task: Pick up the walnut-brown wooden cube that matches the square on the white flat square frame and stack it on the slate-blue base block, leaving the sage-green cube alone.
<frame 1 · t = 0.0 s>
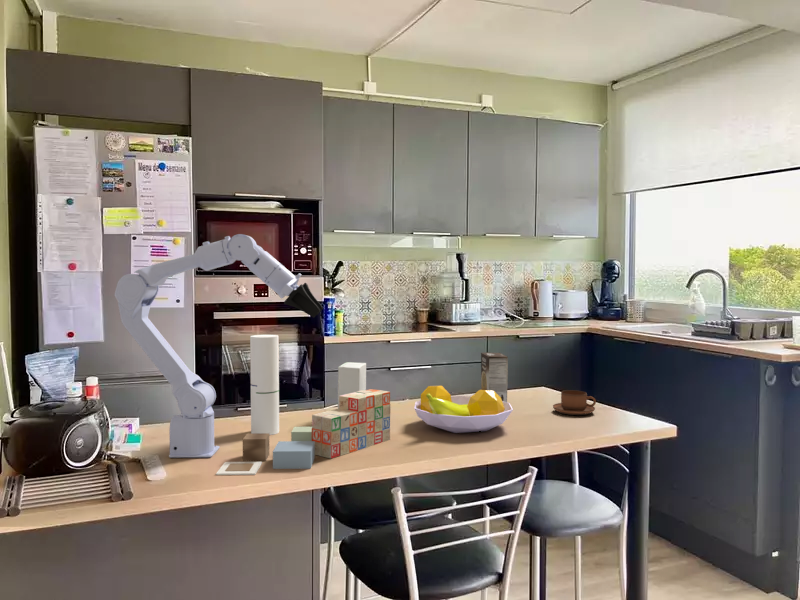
hand: (318, 312, 148), 32 cm above the countertop, tool tilted 50°, fingers open, 7 cm apart
white flat square frame: (239, 468, 138), on the countertop
skincare box: (352, 420, 183), on the countertop
stack of blocks: (352, 447, 155), on the countertop
base block: (294, 464, 142), on the countertop
cylindrical container: (265, 432, 168), on the countertop
sage cube: (303, 450, 152), on the countertop
coffee box: (493, 406, 202), on the countertop
walnut cube: (256, 458, 146), on the countertop
cup and saucer: (573, 413, 192), on the countertop
fruit bowl: (459, 428, 174), on the countertop
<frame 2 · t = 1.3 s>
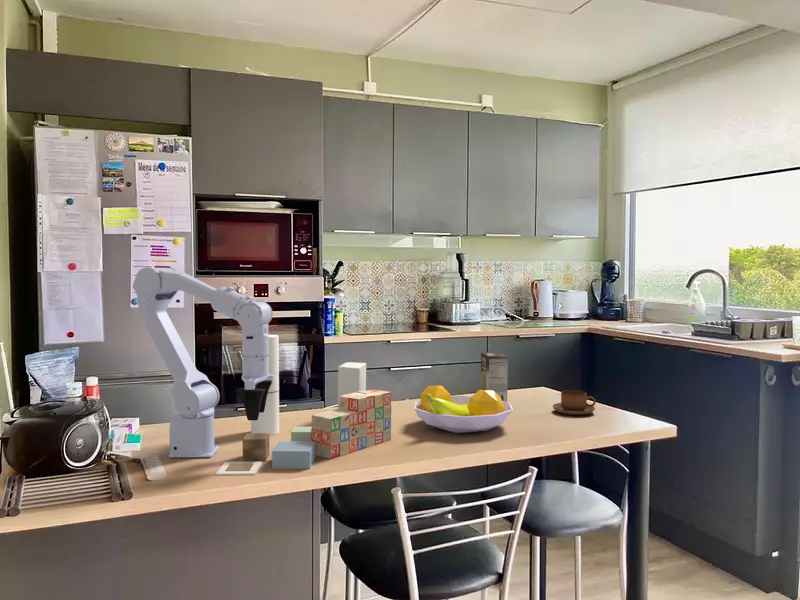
hand: (256, 416, 145), 9 cm above the countertop, tool pointing down, fingers open, 7 cm apart
nothing on the countertop moved.
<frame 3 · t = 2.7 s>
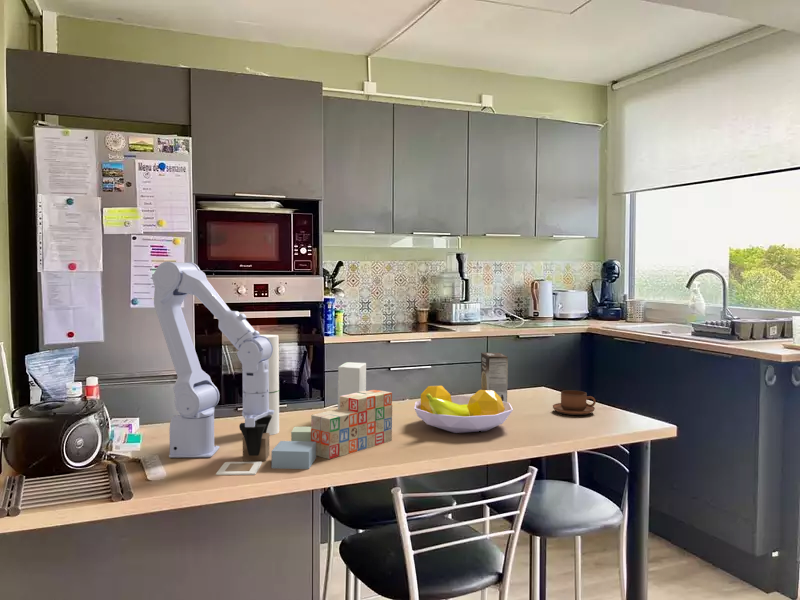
hand: (256, 451, 146), 1 cm above the countertop, tool pointing down, fingers closed on walnut cube, 5 cm apart
walnut cube: (256, 457, 146), on the countertop, touching gripper
everything else where it was.
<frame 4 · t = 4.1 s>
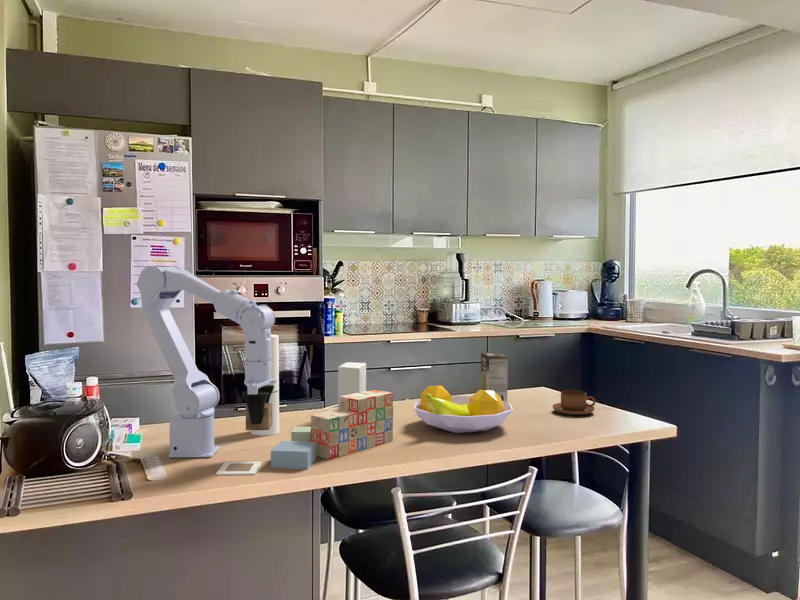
hand: (258, 420, 145), 8 cm above the countertop, tool pointing down, fingers closed on walnut cube, 5 cm apart
walnut cube: (259, 427, 145), point 7 cm above the countertop, touching gripper
everything else where it was.
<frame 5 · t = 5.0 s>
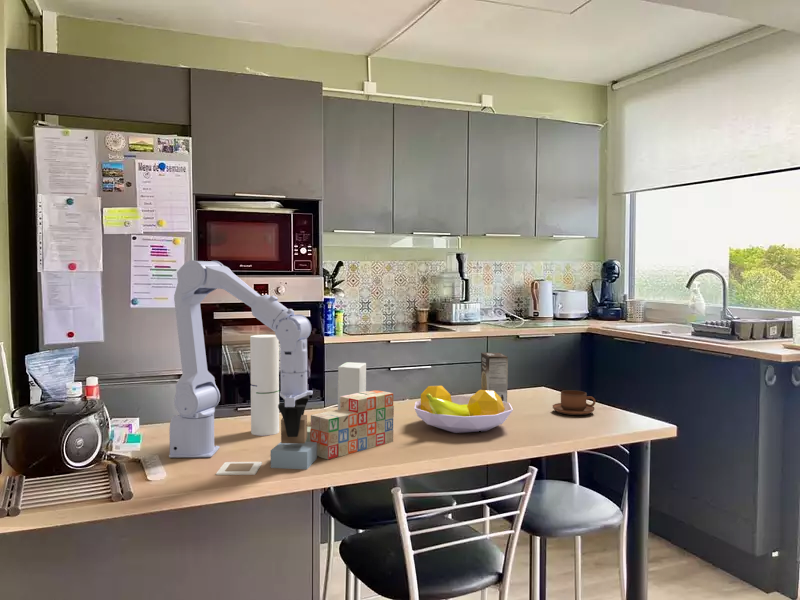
hand: (294, 433, 142), 7 cm above the countertop, tool pointing down, fingers closed on walnut cube, 5 cm apart
walnut cube: (294, 440, 142), point 5 cm above the countertop, touching gripper
when the fingers open (6 cm above the countertop, at t = 5.5 s): walnut cube drops 1 cm, resting on base block.
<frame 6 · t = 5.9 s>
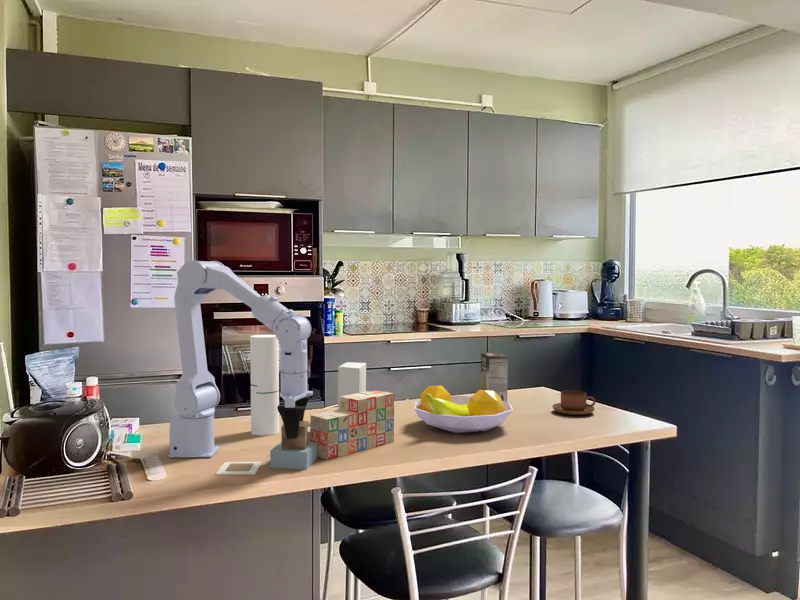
hand: (294, 433, 142), 6 cm above the countertop, tool pointing down, fingers open, 7 cm apart
base block: (294, 464, 142), on the countertop, touching walnut cube
walnut cube: (294, 446, 142), point 4 cm above the countertop, touching base block
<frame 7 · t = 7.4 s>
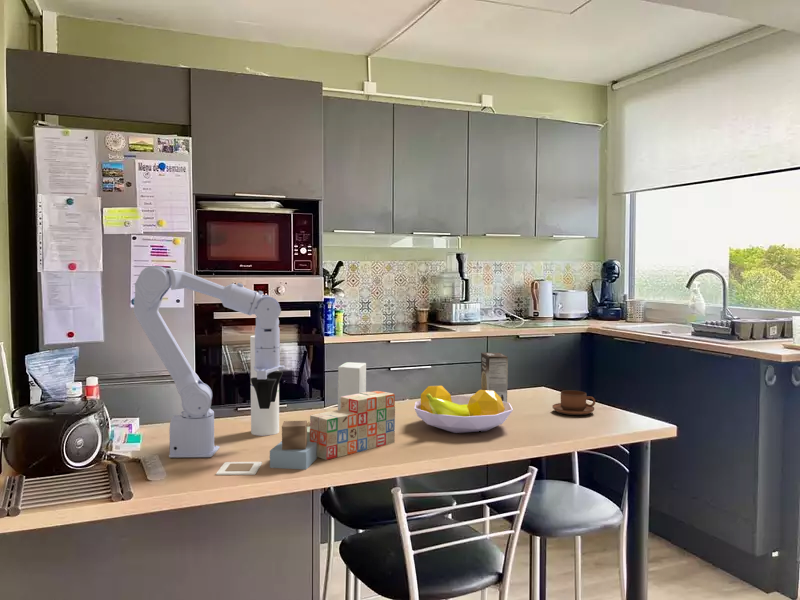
hand: (267, 405, 153), 10 cm above the countertop, tool pointing down, fingers open, 7 cm apart
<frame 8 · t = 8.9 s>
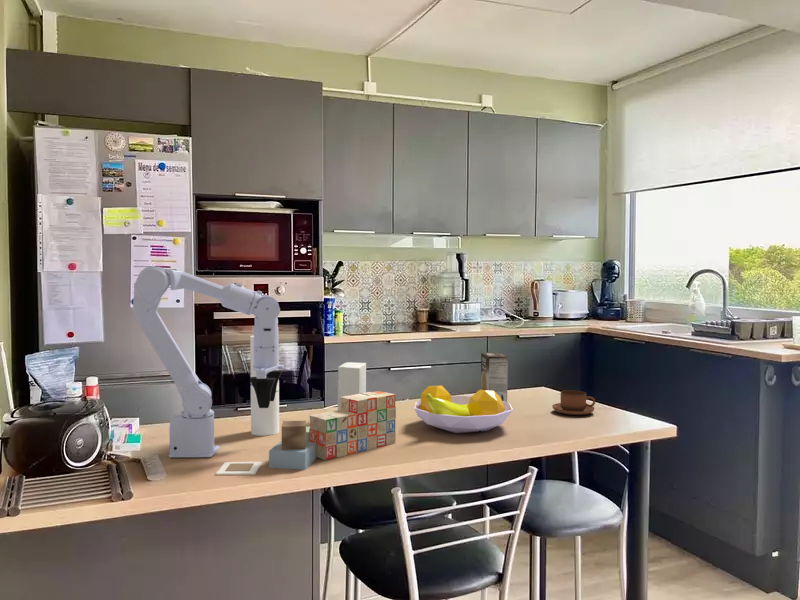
hand: (266, 404, 153), 10 cm above the countertop, tool pointing down, fingers open, 7 cm apart
at the end: walnut cube 0.2 cm off-centre on the base block, point 4.0 cm above the base block's base; walnut cube touching base block; walnut cube tilted 0° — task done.
